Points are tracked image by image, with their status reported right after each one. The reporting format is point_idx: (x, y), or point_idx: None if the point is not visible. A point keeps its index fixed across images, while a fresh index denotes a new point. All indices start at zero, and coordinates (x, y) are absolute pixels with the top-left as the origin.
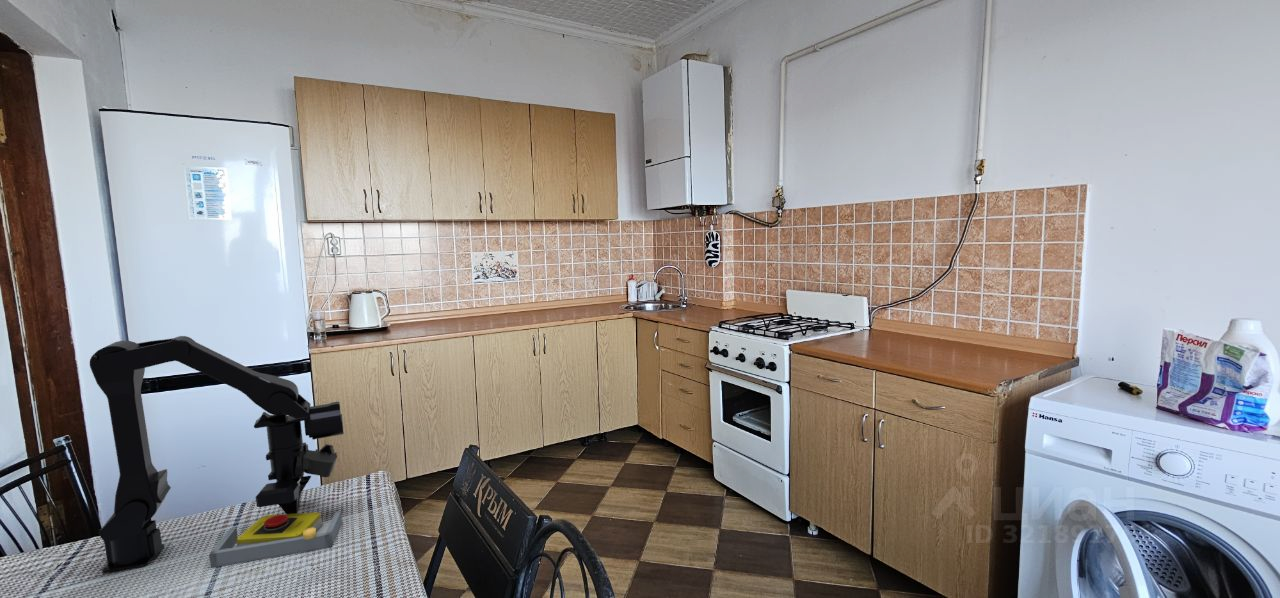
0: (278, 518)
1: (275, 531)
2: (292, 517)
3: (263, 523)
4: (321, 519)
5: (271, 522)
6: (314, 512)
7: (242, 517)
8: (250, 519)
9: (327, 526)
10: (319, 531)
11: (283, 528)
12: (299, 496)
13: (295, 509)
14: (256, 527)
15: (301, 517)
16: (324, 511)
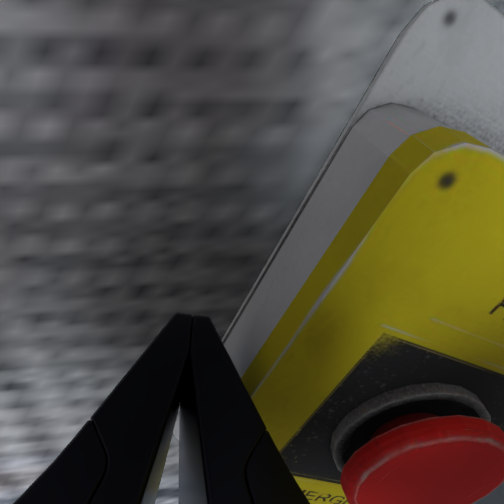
0: (428, 477)
1: (500, 427)
2: (346, 370)
3: (311, 486)
4: (423, 119)
5: (457, 496)
6: (383, 209)
7: (3, 494)
8: (40, 470)
9: (462, 57)
10: (498, 130)
11: (496, 397)
12: (143, 480)
13: (242, 383)
14: (342, 500)
15: (408, 313)
16: (70, 87)
